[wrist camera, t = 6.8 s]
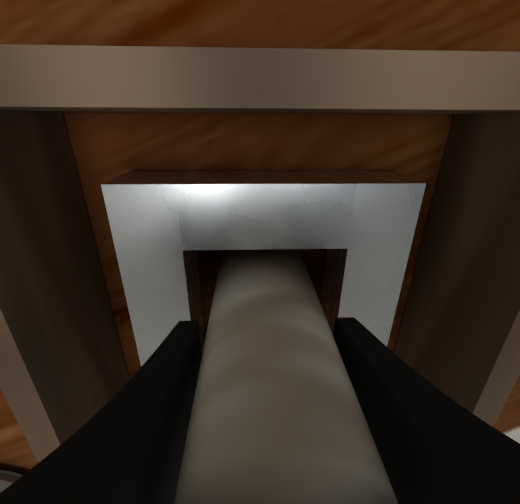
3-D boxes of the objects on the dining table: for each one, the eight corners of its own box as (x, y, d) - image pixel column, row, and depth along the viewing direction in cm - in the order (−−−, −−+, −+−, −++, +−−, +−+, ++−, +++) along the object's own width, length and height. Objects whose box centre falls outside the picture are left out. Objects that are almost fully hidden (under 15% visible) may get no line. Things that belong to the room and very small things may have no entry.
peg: (312, 238, 13) (432, 460, 4) (298, 313, 14) (366, 575, 6) (219, 231, 12) (165, 455, 4) (216, 309, 14) (173, 577, 6)
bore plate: (390, 170, 11) (426, 183, 9) (354, 362, 16) (373, 404, 13) (130, 171, 11) (100, 184, 9) (165, 367, 15) (151, 411, 13)
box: (490, 83, 10) (684, 54, 6) (398, 400, 17) (454, 503, 12) (23, 78, 10) (-178, 42, 5) (118, 408, 16) (68, 521, 12)
